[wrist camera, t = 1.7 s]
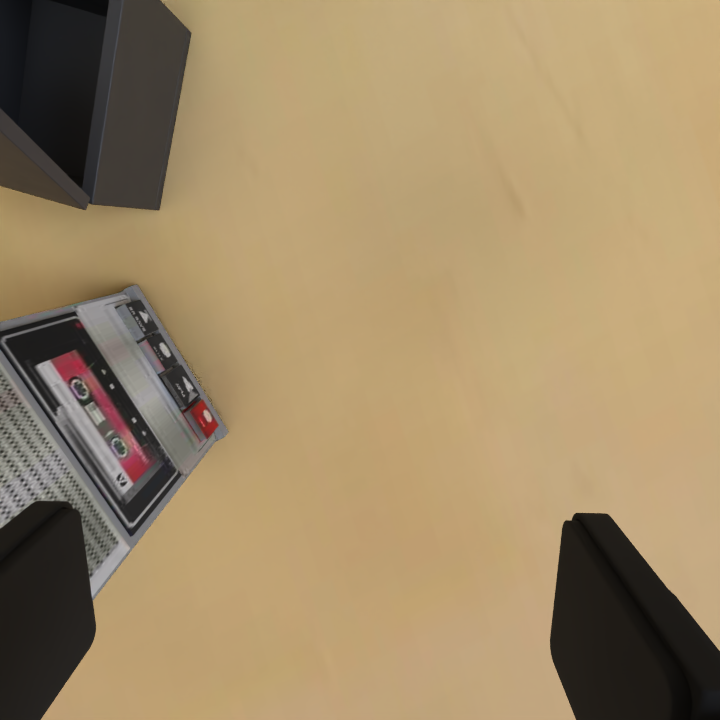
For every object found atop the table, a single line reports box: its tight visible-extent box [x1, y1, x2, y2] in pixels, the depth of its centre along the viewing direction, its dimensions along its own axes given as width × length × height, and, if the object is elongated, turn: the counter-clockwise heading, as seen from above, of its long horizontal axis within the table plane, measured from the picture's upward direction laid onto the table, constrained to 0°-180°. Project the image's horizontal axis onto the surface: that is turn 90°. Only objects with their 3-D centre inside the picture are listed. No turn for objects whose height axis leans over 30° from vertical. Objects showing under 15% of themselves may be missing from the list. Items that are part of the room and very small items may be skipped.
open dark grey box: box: [0, 0, 191, 210], centre depth 34 cm, size 13×12×10 cm
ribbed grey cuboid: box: [0, 285, 228, 600], centre depth 32 cm, size 14×6×25 cm, turn 28°
